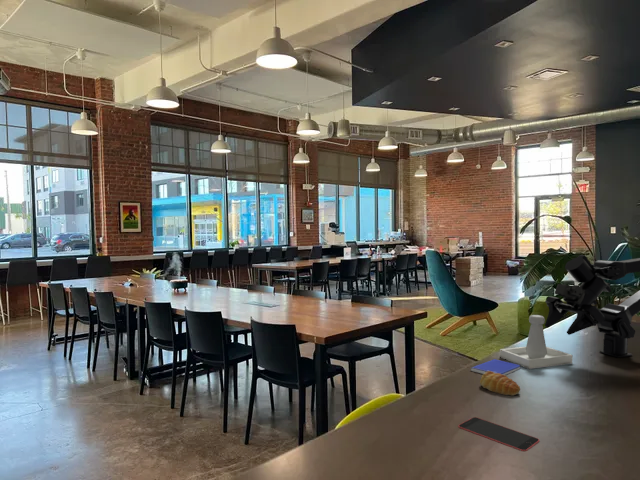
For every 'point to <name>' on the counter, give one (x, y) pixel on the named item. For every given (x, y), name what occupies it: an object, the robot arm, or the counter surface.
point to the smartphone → (499, 434)
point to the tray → (522, 358)
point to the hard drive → (496, 367)
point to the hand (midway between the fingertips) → (556, 330)
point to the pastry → (499, 383)
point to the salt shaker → (536, 338)
